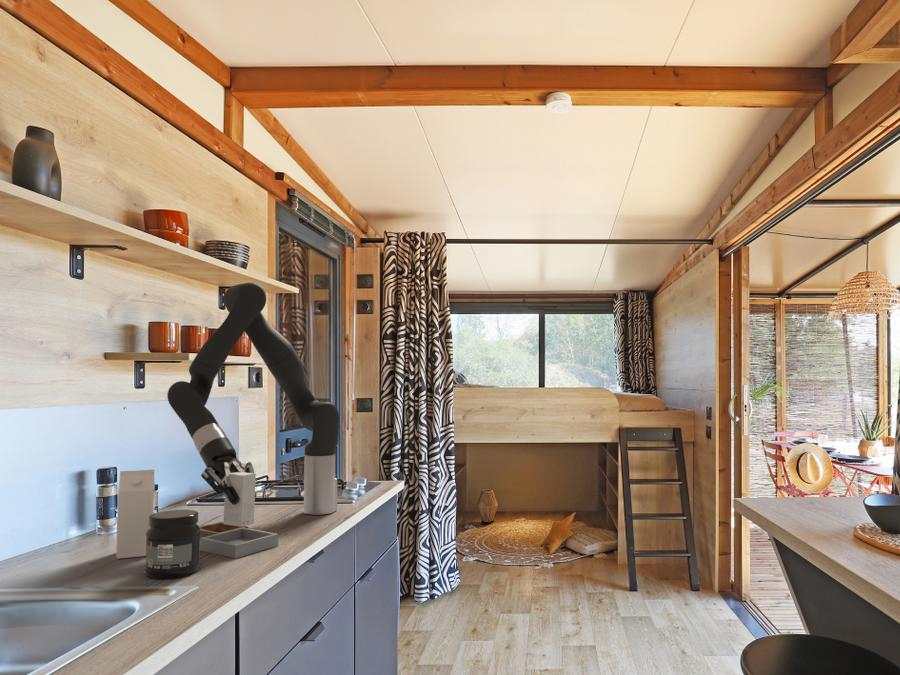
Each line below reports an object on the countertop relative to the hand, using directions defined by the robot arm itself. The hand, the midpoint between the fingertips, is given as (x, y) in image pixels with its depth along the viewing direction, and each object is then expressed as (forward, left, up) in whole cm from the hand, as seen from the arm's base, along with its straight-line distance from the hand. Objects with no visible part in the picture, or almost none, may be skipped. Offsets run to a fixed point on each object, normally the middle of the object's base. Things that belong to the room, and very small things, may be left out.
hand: (245, 500), depth 150 cm
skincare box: (0, -2, -6) cm, 6 cm away
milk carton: (+16, -18, -12) cm, 27 cm away
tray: (0, -2, -11) cm, 11 cm away
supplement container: (+20, +2, -12) cm, 23 cm away
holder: (-4, -14, -11) cm, 19 cm away
